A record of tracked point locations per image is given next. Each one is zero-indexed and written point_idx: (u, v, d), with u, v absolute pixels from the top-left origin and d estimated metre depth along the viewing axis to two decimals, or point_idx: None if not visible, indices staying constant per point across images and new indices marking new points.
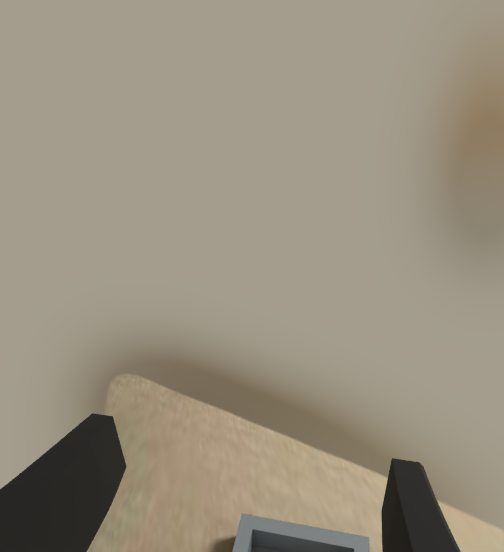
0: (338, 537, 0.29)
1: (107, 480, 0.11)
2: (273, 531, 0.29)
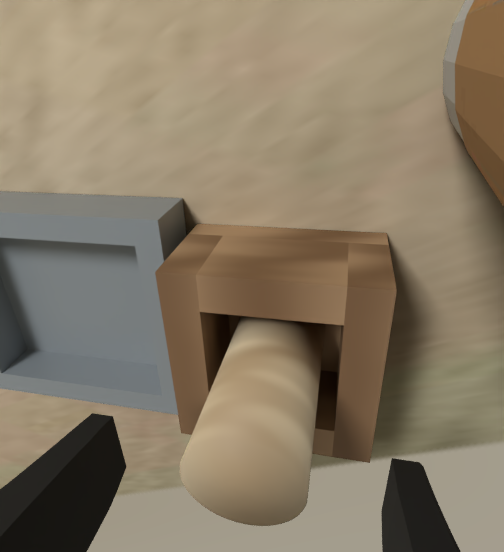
0: None
1: (107, 480, 0.11)
2: None
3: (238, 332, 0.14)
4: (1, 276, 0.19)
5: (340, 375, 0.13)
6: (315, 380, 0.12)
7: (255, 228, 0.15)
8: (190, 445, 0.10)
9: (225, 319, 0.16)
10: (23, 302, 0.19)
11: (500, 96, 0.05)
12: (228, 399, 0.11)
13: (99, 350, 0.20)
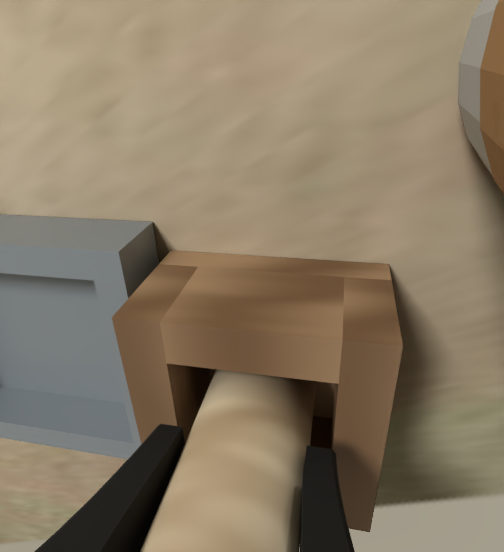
0: None
1: None
2: None
3: (214, 384, 0.12)
4: None
5: (334, 438, 0.11)
6: (305, 447, 0.10)
7: (236, 257, 0.13)
8: (143, 551, 0.08)
9: None
10: None
11: None
12: (193, 486, 0.08)
13: (66, 386, 0.18)
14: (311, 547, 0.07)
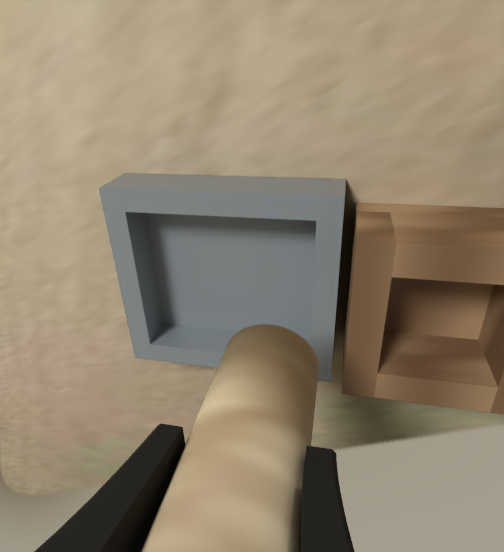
0: (117, 234, 0.18)
1: None
2: (143, 319, 0.20)
3: (215, 384, 0.12)
4: (153, 254, 0.20)
5: None
6: None
7: (414, 206, 0.17)
8: None
9: None
10: (170, 278, 0.21)
11: None
12: (194, 487, 0.08)
13: (237, 323, 0.21)
14: (311, 547, 0.07)
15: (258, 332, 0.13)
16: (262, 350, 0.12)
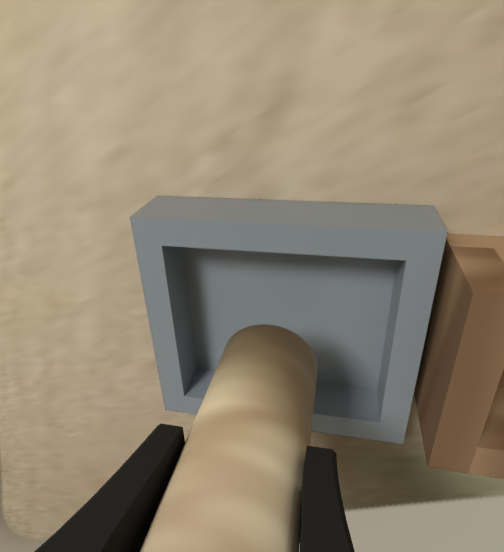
0: (150, 271, 0.15)
1: None
2: (177, 368, 0.17)
3: (214, 384, 0.12)
4: (188, 290, 0.17)
5: None
6: (305, 447, 0.10)
7: None
8: None
9: None
10: (207, 318, 0.18)
11: None
12: (193, 487, 0.08)
13: None
14: (311, 547, 0.07)
15: (257, 332, 0.13)
16: (261, 350, 0.12)
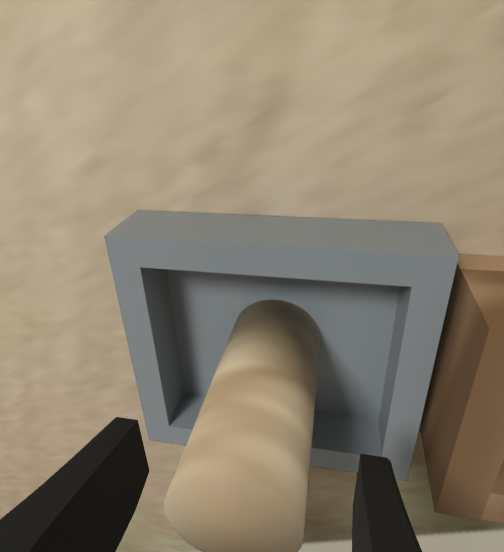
0: (129, 294, 0.13)
1: (132, 485, 0.11)
2: (160, 397, 0.15)
3: (228, 350, 0.13)
4: (173, 312, 0.16)
5: None
6: (311, 402, 0.12)
7: None
8: (175, 481, 0.09)
9: None
10: (194, 341, 0.16)
11: None
12: (216, 429, 0.10)
13: None
14: None
15: (265, 306, 0.14)
16: (270, 321, 0.13)
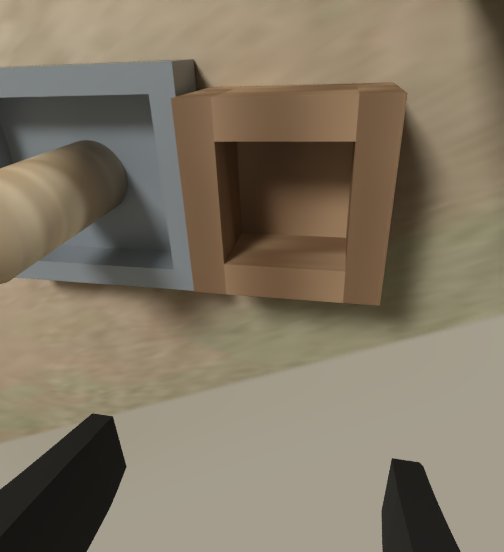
0: None
1: (107, 480, 0.11)
2: None
3: None
4: (13, 161, 0.19)
5: (351, 202, 0.13)
6: (77, 190, 0.15)
7: (265, 86, 0.16)
8: None
9: (236, 181, 0.16)
10: None
11: None
12: None
13: (110, 238, 0.20)
14: None
15: (74, 142, 0.18)
16: (68, 146, 0.17)
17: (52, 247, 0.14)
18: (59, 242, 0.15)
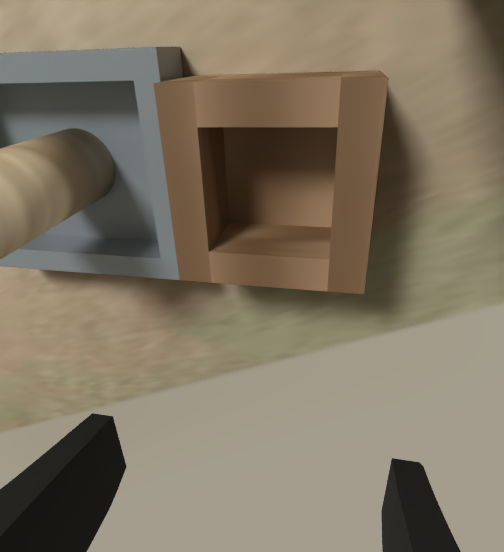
0: None
1: (107, 480, 0.11)
2: None
3: None
4: None
5: (334, 189, 0.13)
6: (62, 176, 0.15)
7: (251, 74, 0.16)
8: None
9: (222, 170, 0.16)
10: None
11: None
12: None
13: (98, 228, 0.20)
14: None
15: None
16: (55, 134, 0.17)
17: (35, 233, 0.14)
18: (43, 228, 0.15)
